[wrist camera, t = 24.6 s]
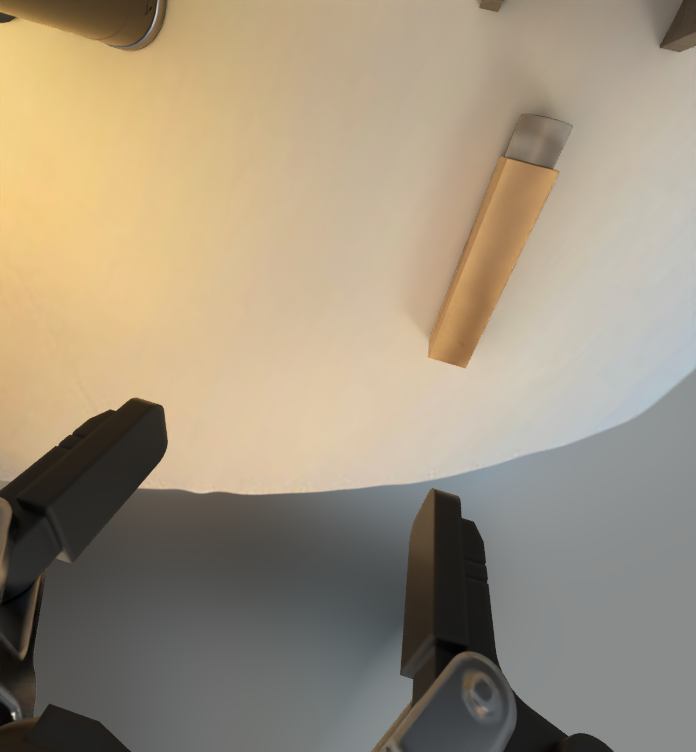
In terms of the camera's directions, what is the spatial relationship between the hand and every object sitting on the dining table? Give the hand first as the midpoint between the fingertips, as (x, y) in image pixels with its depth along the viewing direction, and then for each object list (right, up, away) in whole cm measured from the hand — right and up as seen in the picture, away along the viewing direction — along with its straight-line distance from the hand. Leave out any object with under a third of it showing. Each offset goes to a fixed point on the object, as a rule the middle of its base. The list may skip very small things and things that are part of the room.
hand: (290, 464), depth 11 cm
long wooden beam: (+15, +15, +26) cm, 34 cm away
